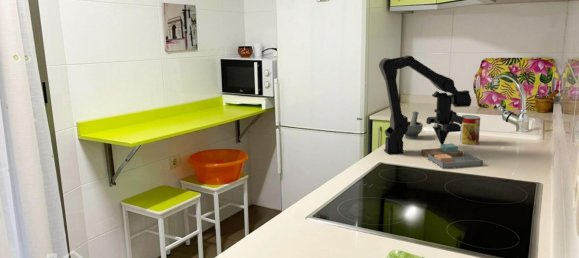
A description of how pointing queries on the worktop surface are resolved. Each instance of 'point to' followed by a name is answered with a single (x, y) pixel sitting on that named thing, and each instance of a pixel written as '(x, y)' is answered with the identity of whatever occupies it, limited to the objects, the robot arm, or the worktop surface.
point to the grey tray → (458, 161)
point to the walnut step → (440, 152)
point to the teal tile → (449, 147)
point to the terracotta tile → (444, 158)
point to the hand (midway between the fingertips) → (441, 143)
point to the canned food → (470, 130)
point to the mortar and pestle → (414, 127)
